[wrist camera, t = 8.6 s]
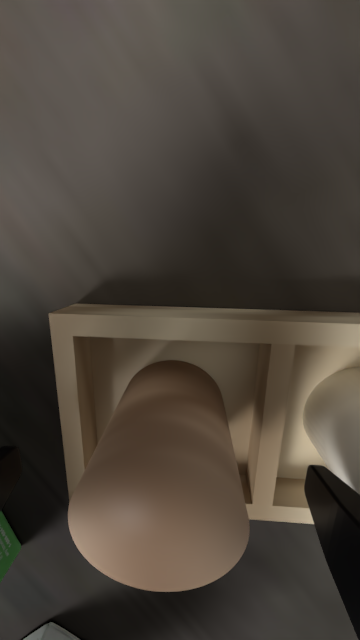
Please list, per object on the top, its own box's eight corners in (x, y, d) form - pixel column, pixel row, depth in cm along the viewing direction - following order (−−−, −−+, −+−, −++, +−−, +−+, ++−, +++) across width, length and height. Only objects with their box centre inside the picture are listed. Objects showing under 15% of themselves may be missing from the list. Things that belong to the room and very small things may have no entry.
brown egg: (227, 362, 10) (259, 459, 5) (219, 451, 11) (241, 598, 6) (121, 357, 10) (59, 447, 5) (125, 445, 11) (75, 584, 7)
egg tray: (478, 316, 10) (549, 330, 8) (421, 489, 12) (466, 535, 10) (75, 303, 10) (48, 313, 9) (89, 468, 13) (69, 505, 11)
